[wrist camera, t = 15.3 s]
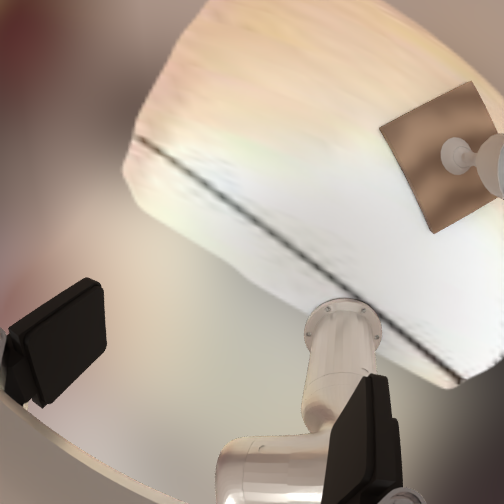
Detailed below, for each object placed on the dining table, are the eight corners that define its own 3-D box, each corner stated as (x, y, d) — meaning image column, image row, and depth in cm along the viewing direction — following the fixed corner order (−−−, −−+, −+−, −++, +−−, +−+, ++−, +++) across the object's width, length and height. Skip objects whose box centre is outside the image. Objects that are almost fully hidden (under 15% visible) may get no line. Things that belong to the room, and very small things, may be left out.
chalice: (437, 123, 33) (501, 117, 17) (480, 135, 32) (556, 141, 16) (431, 177, 36) (490, 205, 20) (473, 187, 35) (544, 221, 18)
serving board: (511, 183, 34) (517, 185, 32) (430, 230, 40) (433, 234, 38) (466, 82, 32) (471, 80, 30) (378, 128, 38) (380, 127, 36)
